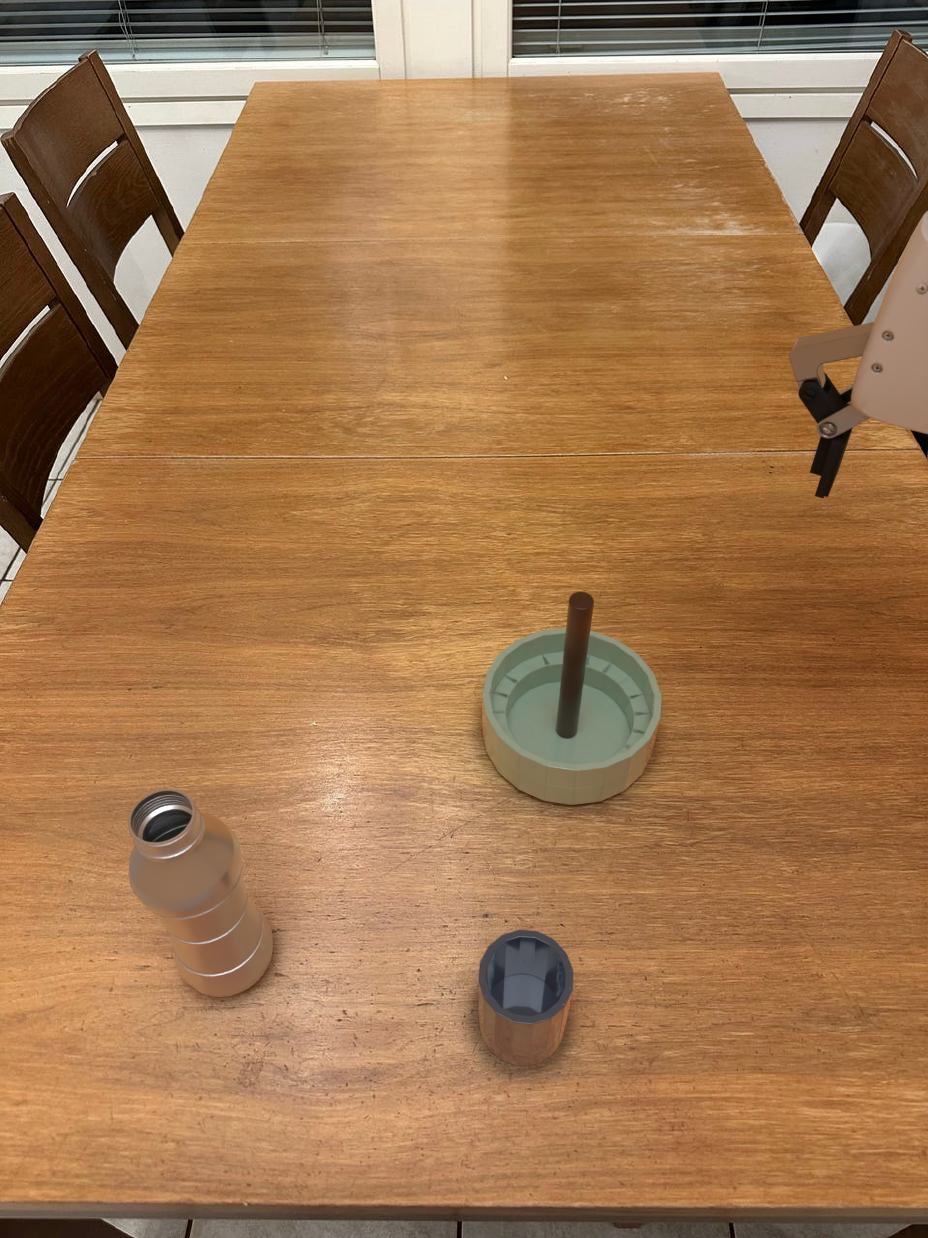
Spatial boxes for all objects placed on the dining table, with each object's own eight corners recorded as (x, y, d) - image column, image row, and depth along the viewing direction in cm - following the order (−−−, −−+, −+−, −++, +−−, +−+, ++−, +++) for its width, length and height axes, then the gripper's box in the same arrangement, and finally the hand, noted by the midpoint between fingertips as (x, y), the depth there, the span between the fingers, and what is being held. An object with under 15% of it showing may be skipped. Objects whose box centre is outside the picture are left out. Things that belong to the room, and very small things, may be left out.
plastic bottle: (189, 921, 69) (109, 770, 54) (282, 914, 69) (228, 763, 55) (177, 1010, 65) (87, 874, 50) (276, 1003, 65) (216, 865, 50)
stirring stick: (580, 726, 80) (598, 596, 68) (572, 742, 79) (588, 612, 67) (561, 718, 80) (575, 587, 68) (552, 733, 79) (564, 604, 67)
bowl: (676, 705, 82) (686, 665, 78) (613, 836, 73) (620, 798, 69) (528, 647, 86) (530, 606, 82) (453, 763, 78) (451, 724, 74)
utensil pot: (578, 1003, 65) (588, 956, 59) (542, 1083, 61) (548, 1041, 56) (503, 963, 67) (505, 914, 61) (464, 1039, 63) (462, 994, 57)
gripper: (1262, 210, 41) (1082, 512, 53) (853, 147, 47) (777, 433, 59) (1270, 288, 36) (1072, 598, 49) (817, 207, 42) (743, 503, 55)
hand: (911, 507), depth 54 cm, fingers open, 9 cm apart
